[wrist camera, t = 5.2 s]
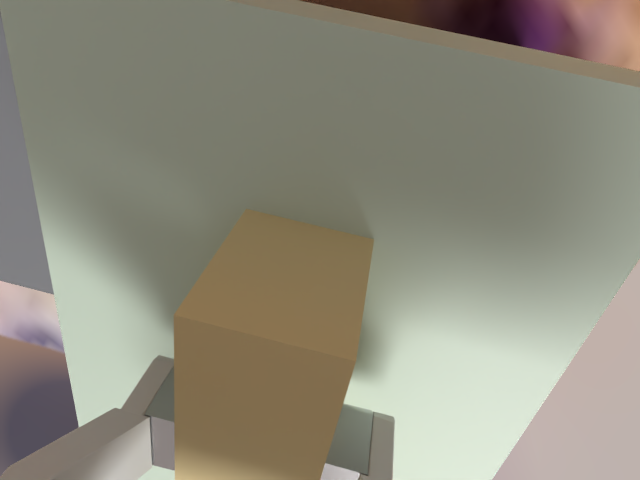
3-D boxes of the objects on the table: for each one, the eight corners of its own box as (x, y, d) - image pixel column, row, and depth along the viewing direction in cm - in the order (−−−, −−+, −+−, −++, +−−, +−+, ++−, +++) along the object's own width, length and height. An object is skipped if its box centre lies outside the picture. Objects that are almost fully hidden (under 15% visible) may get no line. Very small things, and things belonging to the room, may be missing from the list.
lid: (68, -48, 10) (-258, -56, 5) (674, 78, 9) (961, 210, 4) (120, 427, 19) (20, 586, 14) (427, 511, 18) (431, 709, 13)
